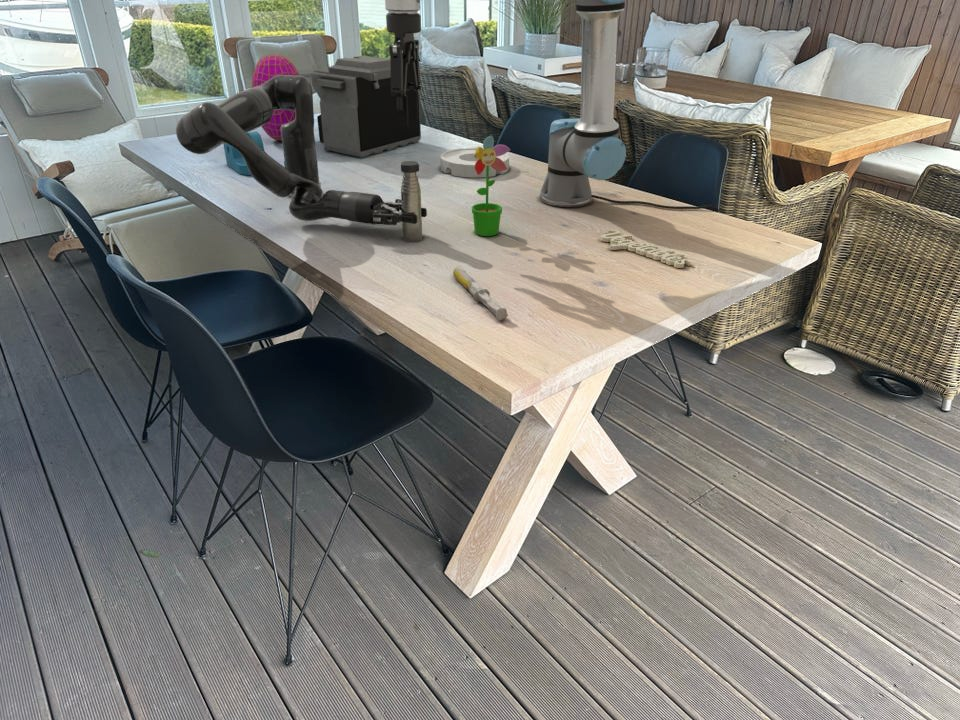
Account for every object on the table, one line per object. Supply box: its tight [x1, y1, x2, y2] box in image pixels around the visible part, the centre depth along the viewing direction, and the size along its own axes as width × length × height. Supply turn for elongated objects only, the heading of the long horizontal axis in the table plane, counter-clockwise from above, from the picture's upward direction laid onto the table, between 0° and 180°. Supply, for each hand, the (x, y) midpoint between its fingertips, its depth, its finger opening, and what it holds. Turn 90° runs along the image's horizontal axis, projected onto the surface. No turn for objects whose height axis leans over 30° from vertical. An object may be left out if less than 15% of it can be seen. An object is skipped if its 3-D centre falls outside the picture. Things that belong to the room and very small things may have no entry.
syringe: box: [452, 266, 509, 321], centre depth 145 cm, size 25×4×3 cm, turn 21°
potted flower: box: [471, 135, 511, 237], centre depth 172 cm, size 9×8×25 cm
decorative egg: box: [251, 54, 301, 142], centre depth 257 cm, size 19×19×30 cm
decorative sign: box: [600, 229, 691, 269], centre depth 168 cm, size 26×1×10 cm
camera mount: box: [222, 131, 265, 176], centre depth 226 cm, size 18×10×10 cm, turn 35°
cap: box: [400, 160, 420, 173], centre depth 166 cm, size 4×4×2 cm
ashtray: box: [439, 147, 510, 178], centre depth 231 cm, size 23×23×4 cm
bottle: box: [400, 172, 423, 242], centre depth 170 cm, size 5×5×19 cm
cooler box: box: [310, 55, 422, 159], centre depth 250 cm, size 37×22×30 cm, turn 144°
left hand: (421, 215), depth 171 cm, fingers closed on bottle, 5 cm apart
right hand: (407, 122), depth 160 cm, fingers open, 7 cm apart
